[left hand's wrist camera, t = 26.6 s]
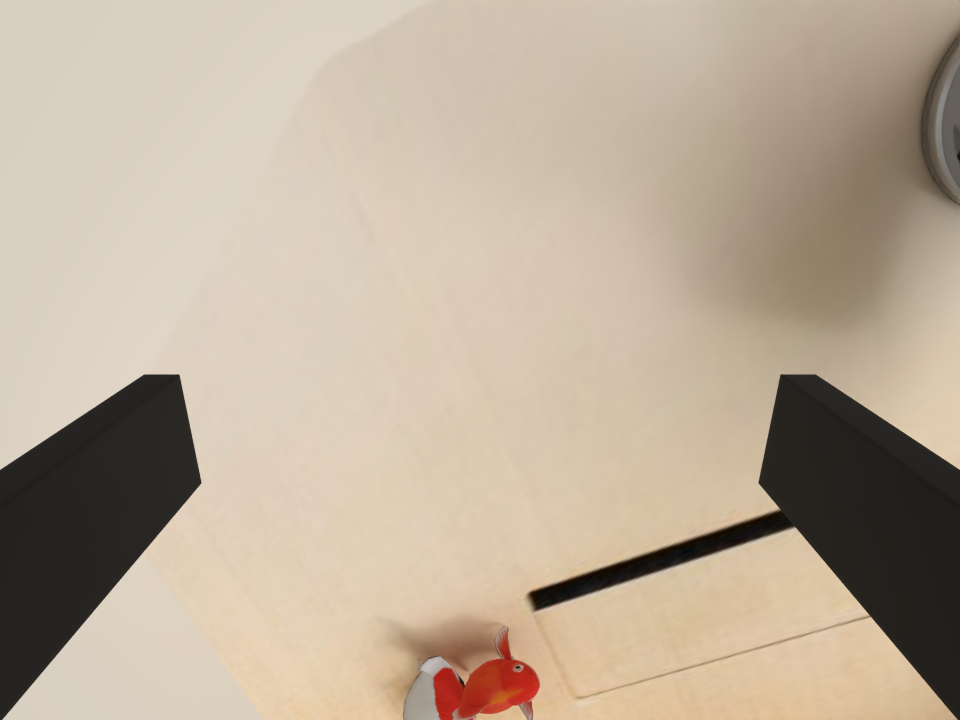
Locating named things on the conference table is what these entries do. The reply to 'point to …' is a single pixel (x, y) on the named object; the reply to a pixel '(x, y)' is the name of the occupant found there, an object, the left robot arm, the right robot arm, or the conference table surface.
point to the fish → (472, 688)
